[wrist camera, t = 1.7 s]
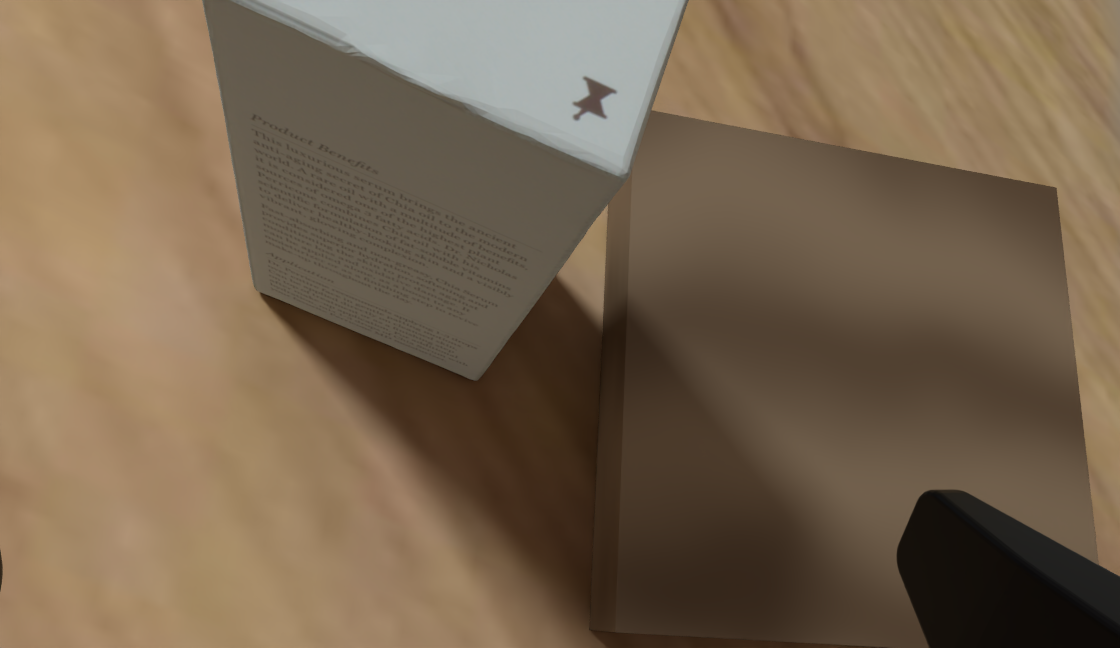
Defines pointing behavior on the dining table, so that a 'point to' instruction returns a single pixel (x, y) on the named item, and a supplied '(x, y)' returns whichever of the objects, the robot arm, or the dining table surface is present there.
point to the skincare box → (430, 152)
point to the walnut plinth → (819, 381)
